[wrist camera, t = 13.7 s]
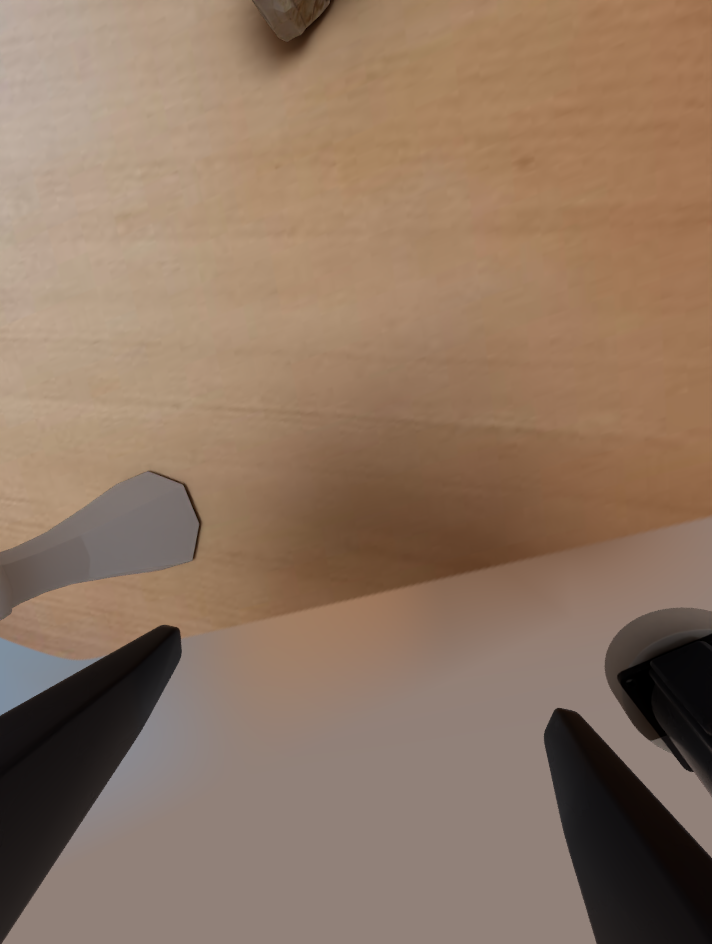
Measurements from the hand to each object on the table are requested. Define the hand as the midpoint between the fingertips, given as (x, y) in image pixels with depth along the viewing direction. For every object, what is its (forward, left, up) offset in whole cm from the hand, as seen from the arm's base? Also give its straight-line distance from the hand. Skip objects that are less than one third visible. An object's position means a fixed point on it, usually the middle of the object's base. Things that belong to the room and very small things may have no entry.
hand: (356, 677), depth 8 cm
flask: (+10, +14, -12) cm, 21 cm away
